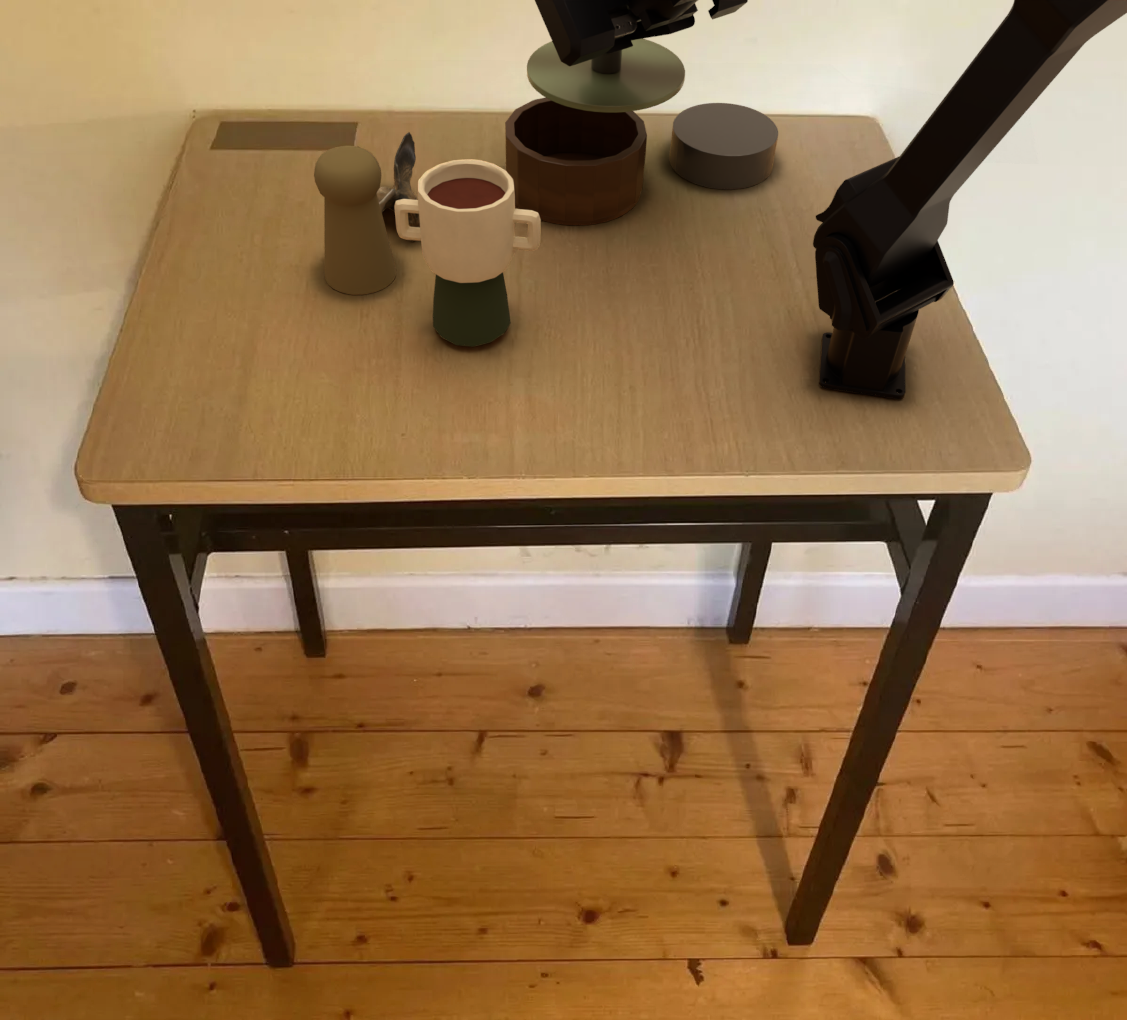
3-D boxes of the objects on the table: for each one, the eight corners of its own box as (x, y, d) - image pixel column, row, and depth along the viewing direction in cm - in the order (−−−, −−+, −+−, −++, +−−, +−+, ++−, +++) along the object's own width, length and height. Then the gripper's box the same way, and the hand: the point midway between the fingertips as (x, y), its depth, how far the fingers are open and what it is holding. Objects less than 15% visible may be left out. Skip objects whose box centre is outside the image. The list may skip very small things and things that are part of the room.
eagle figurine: (472, 216, 99) (431, 152, 103) (433, 172, 93) (390, 106, 96) (405, 268, 100) (367, 203, 104) (362, 229, 94) (323, 161, 98)
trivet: (768, 195, 105) (774, 161, 102) (662, 182, 106) (666, 148, 103) (775, 142, 111) (781, 109, 109) (676, 130, 112) (679, 97, 110)
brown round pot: (648, 224, 101) (653, 164, 96) (508, 226, 100) (507, 166, 96) (633, 152, 109) (637, 93, 105) (504, 153, 108) (503, 94, 104)
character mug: (544, 307, 92) (547, 164, 83) (533, 362, 87) (534, 218, 78) (414, 295, 93) (402, 152, 83) (395, 349, 88) (380, 204, 78)
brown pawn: (402, 255, 96) (391, 138, 88) (388, 297, 92) (375, 178, 84) (334, 250, 97) (316, 132, 89) (316, 291, 93) (296, 172, 85)
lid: (688, 121, 93) (696, 49, 89) (523, 117, 93) (523, 44, 89) (679, 47, 103) (686, -22, 98) (529, 43, 103) (529, -27, 98)
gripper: (745, -180, 86) (642, -72, 100) (550, -135, 78) (468, -25, 92) (801, -39, 87) (692, 48, 101) (615, 19, 79) (524, 105, 93)
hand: (597, 41), depth 97 cm, fingers closed on lid, 3 cm apart
